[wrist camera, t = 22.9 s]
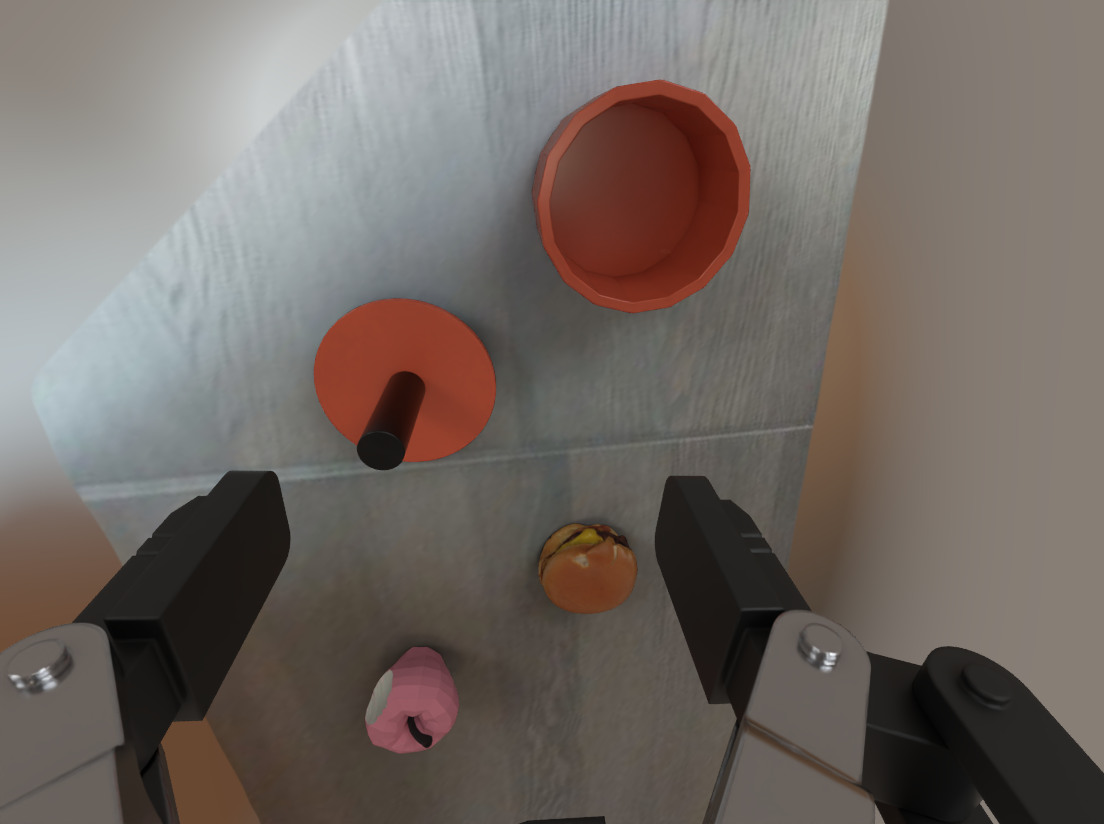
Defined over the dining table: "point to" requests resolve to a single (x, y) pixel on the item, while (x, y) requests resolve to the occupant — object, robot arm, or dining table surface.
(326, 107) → the dining table surface
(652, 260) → the cup
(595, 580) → the burger
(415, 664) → the apple
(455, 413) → the cooker lid
